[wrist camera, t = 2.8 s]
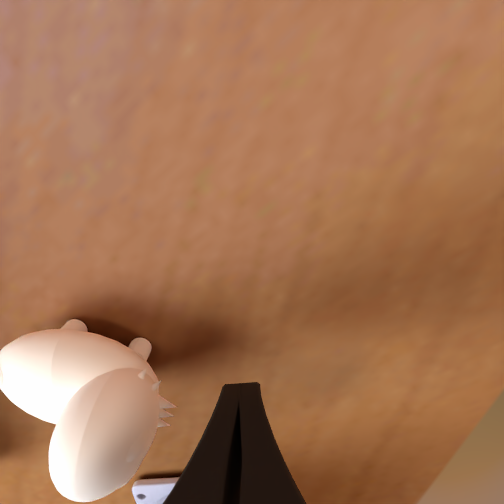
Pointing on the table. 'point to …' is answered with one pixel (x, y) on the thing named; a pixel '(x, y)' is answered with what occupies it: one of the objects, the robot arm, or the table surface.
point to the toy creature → (87, 404)
